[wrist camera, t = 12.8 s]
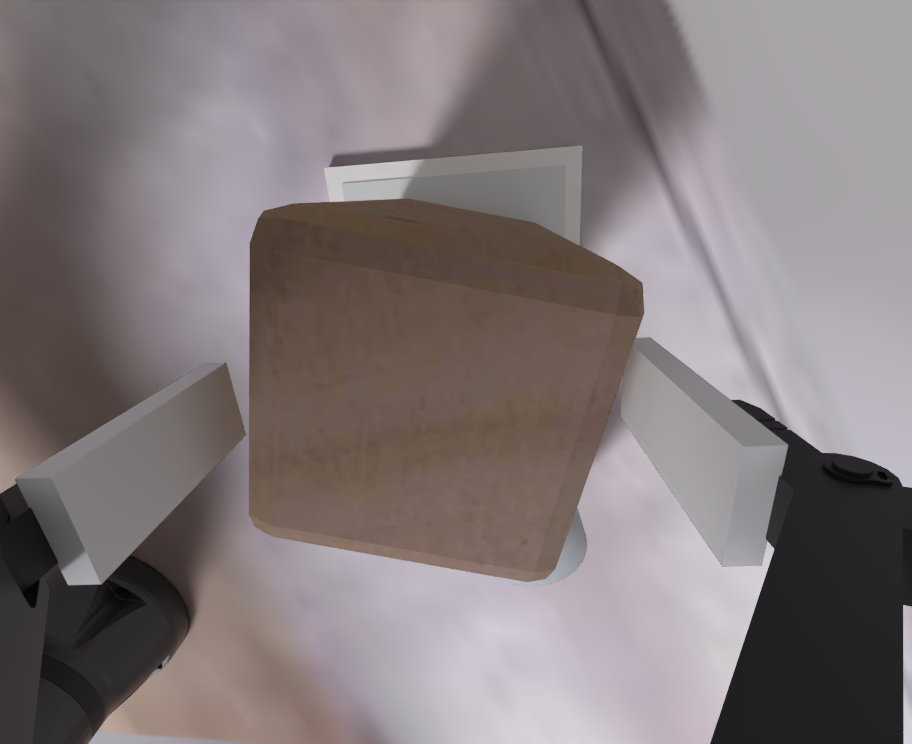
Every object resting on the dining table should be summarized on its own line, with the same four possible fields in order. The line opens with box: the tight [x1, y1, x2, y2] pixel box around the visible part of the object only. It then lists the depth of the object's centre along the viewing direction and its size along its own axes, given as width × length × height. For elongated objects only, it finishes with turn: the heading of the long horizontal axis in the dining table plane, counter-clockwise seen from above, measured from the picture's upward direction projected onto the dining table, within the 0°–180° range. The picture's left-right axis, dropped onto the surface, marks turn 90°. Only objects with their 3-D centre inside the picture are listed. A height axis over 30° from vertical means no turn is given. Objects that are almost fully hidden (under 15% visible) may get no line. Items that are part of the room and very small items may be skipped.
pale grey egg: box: [499, 508, 587, 587], centre depth 33 cm, size 7×7×8 cm
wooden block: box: [249, 199, 644, 582], centre depth 21 cm, size 10×10×20 cm
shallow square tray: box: [324, 145, 583, 246], centre depth 31 cm, size 16×16×1 cm
